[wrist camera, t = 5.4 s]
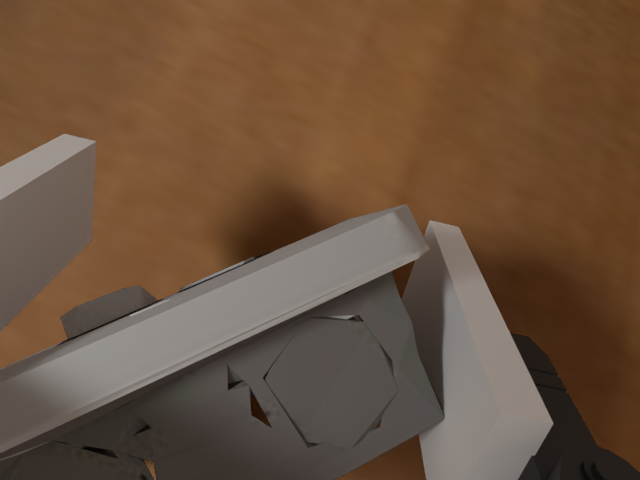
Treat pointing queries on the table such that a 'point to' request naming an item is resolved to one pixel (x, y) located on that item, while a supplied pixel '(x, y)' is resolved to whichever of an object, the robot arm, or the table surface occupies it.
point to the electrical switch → (232, 370)
